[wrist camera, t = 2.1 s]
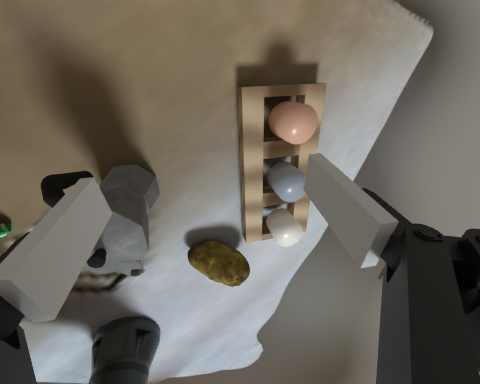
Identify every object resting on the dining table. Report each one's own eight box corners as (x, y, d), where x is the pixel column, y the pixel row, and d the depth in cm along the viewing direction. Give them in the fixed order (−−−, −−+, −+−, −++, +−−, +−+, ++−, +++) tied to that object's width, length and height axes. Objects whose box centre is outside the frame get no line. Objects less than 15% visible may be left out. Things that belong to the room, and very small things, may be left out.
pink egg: (299, 135, 36) (314, 142, 32) (268, 138, 35) (280, 146, 31) (302, 99, 33) (320, 102, 29) (269, 102, 32) (282, 104, 28)
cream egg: (290, 228, 45) (301, 243, 41) (265, 232, 44) (274, 249, 40) (292, 206, 43) (304, 220, 38) (266, 210, 42) (275, 225, 37)
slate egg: (294, 187, 41) (307, 199, 36) (266, 191, 40) (277, 204, 35) (296, 159, 38) (311, 169, 34) (267, 163, 37) (278, 173, 33)
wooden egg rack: (299, 224, 50) (305, 231, 48) (242, 234, 48) (246, 243, 45) (316, 83, 36) (326, 83, 34) (237, 87, 33) (241, 87, 31)
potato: (208, 223, 44) (212, 250, 37) (248, 249, 50) (259, 276, 43) (182, 249, 45) (182, 279, 39) (225, 271, 52) (232, 300, 45)
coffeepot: (176, 203, 40) (172, 279, 25) (132, 225, 40) (100, 315, 25) (122, 129, 32) (66, 172, 17) (67, 156, 32) (-39, 225, 17)
